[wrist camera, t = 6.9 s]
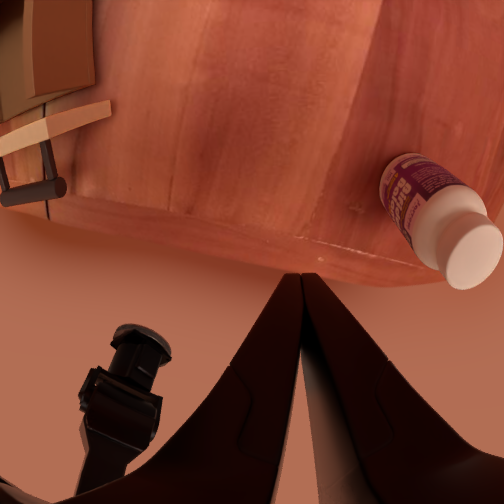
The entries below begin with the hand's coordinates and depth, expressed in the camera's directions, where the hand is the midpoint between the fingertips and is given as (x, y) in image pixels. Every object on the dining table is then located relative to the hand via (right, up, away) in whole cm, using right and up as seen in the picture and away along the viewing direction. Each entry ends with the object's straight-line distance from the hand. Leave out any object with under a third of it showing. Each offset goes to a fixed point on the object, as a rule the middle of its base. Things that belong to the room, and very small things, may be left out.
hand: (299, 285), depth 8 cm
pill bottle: (+10, +6, +11) cm, 17 cm away
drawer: (-17, +15, +6) cm, 24 cm away
